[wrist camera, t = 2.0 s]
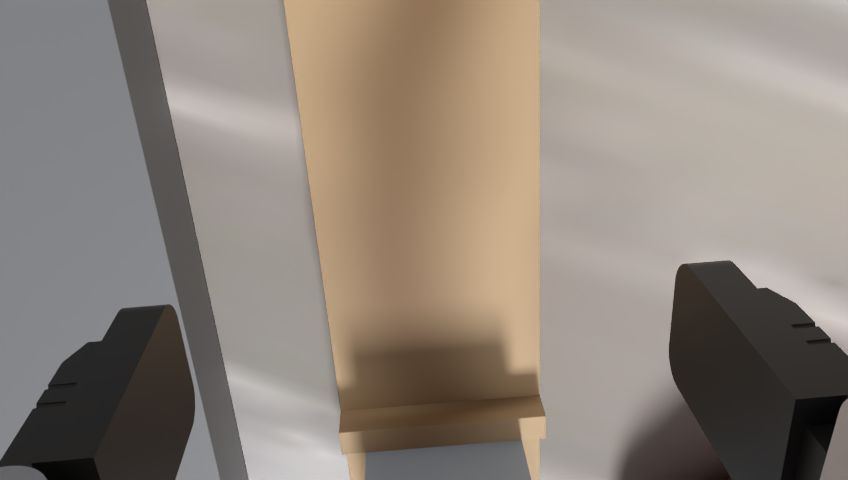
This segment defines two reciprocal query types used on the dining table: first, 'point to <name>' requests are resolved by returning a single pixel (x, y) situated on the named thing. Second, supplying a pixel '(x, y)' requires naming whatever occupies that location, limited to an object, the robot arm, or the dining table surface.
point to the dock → (96, 211)
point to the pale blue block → (451, 463)
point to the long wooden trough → (426, 216)
